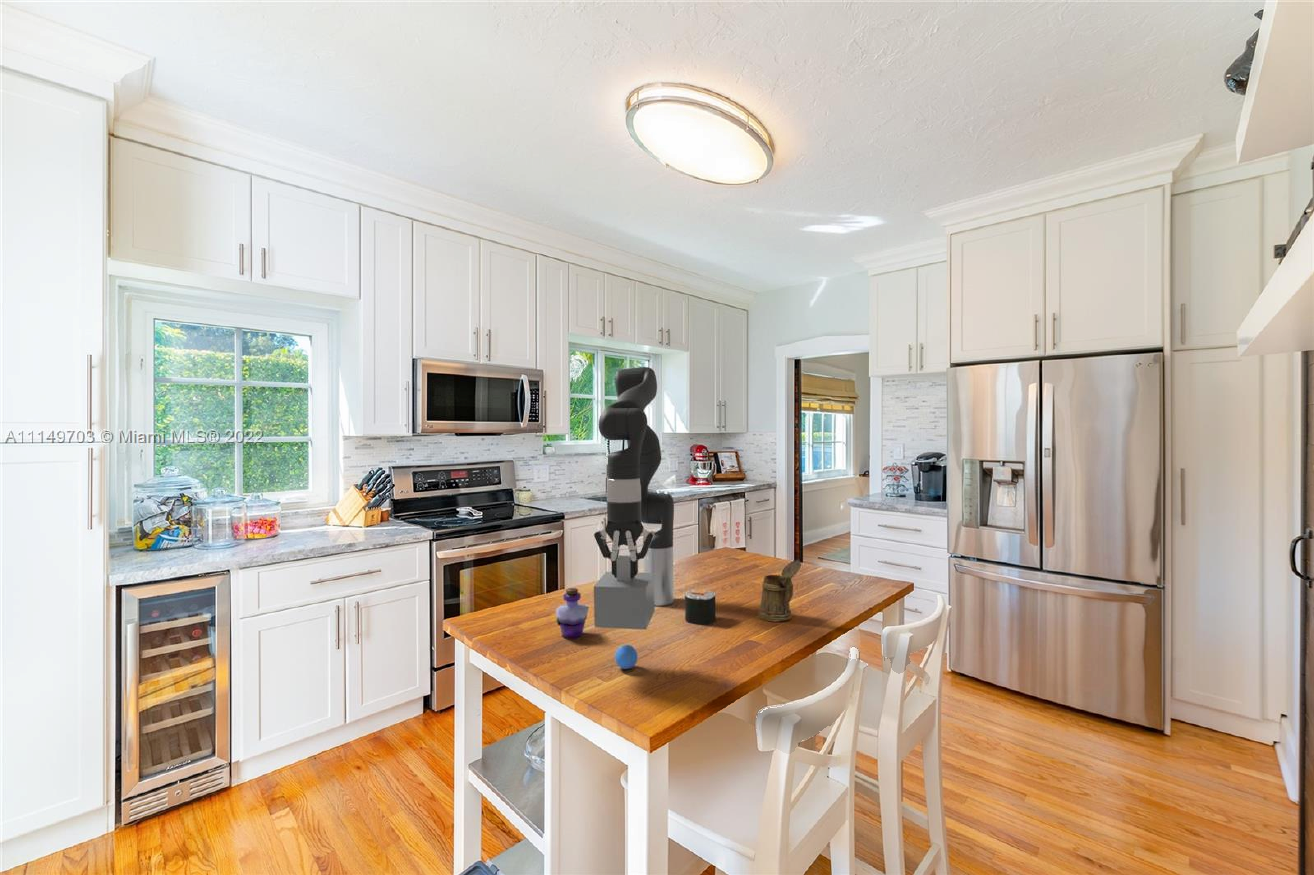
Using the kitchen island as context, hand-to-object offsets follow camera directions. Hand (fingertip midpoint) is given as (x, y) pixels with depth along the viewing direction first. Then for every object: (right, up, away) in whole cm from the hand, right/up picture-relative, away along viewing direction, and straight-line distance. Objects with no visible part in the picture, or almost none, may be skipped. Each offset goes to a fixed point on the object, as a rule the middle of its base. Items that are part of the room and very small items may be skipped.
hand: (624, 576), depth 124 cm
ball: (0, -18, +1) cm, 18 cm away
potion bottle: (-15, -21, +22) cm, 33 cm away
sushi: (+19, -20, +33) cm, 43 cm away
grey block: (0, -9, 0) cm, 9 cm away
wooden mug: (+41, -20, +32) cm, 56 cm away
